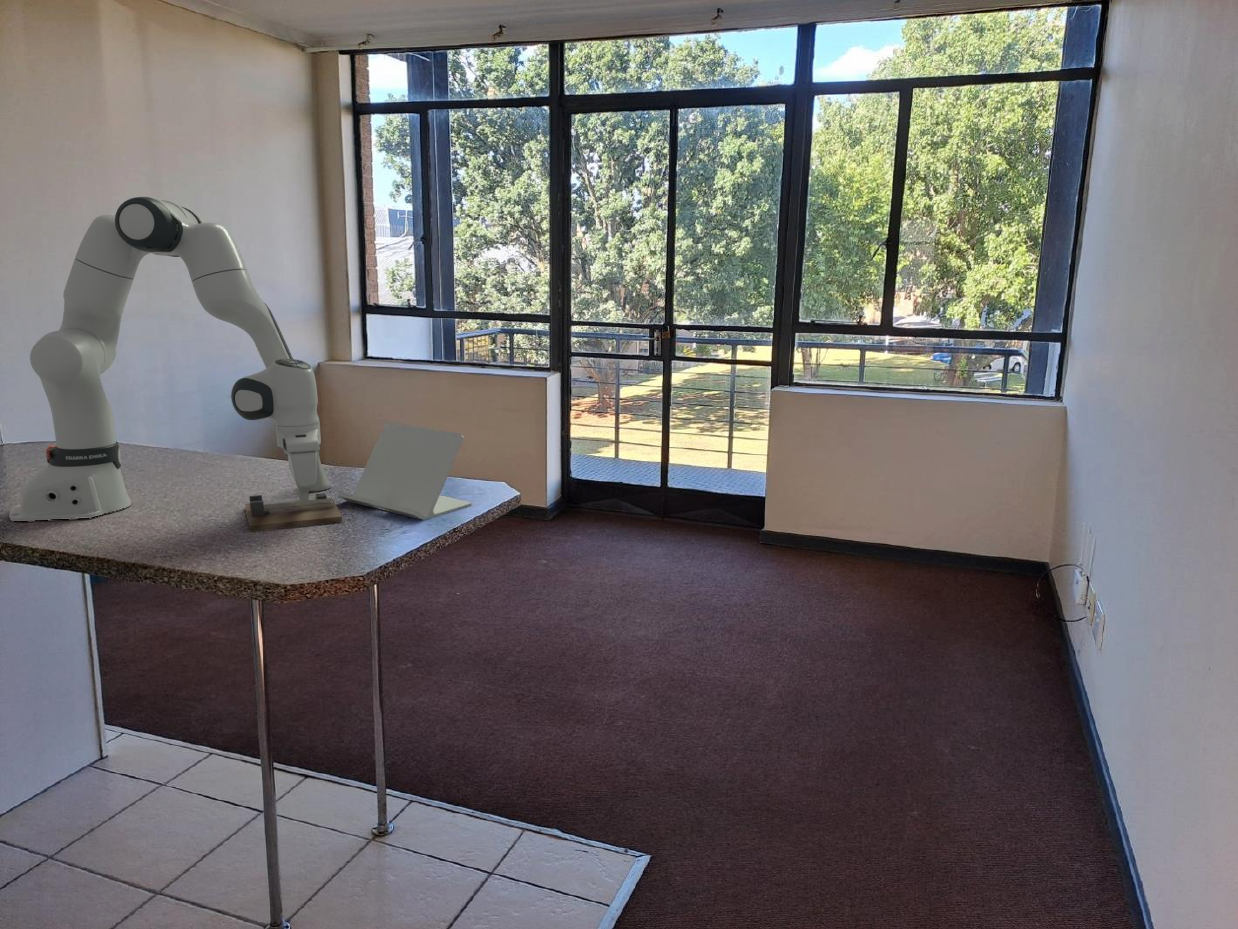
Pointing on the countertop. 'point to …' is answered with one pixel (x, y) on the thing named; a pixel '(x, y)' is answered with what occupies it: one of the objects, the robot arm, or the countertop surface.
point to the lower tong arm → (258, 508)
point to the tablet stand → (409, 472)
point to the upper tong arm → (297, 502)
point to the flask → (320, 477)
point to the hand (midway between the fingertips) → (303, 499)
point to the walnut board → (292, 518)
